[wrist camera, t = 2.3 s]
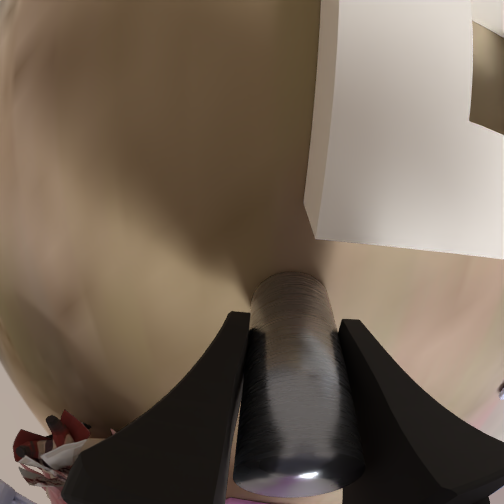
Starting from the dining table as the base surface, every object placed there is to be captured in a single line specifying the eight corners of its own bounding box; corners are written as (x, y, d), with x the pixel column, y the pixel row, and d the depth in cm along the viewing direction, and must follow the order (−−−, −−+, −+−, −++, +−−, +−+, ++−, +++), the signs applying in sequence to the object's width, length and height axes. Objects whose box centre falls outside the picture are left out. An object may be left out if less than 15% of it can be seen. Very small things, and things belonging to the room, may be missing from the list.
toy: (-9, 368, 15) (84, 476, 21) (-58, 479, 5) (82, 566, 11) (124, 344, 17) (195, 465, 23) (111, 507, 7) (218, 566, 13)
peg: (336, 275, 11) (385, 448, 5) (320, 336, 12) (342, 495, 6) (253, 268, 11) (234, 450, 5) (249, 332, 12) (232, 494, 6)
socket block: (553, 15, 5) (592, 12, 2) (534, 238, 10) (571, 268, 7) (322, -95, 5) (334, -137, 2) (303, 202, 10) (315, 239, 7)
